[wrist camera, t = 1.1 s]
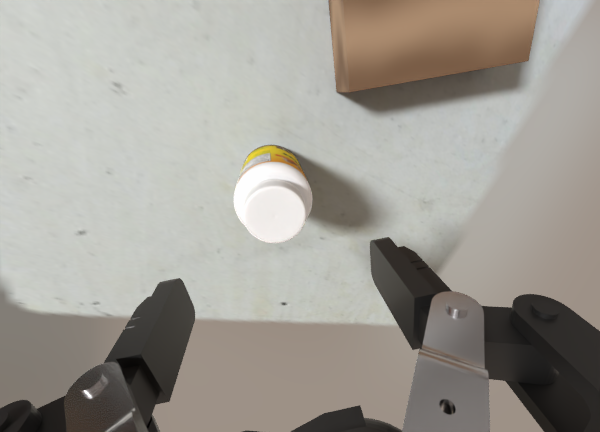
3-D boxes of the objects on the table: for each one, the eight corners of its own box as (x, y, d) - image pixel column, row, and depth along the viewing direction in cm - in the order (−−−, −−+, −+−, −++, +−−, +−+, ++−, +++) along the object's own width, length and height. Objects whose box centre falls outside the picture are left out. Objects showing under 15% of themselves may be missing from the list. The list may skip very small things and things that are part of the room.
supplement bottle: (308, 185, 27) (331, 234, 18) (258, 207, 27) (255, 267, 18) (285, 132, 24) (298, 157, 15) (231, 158, 25) (211, 197, 16)
